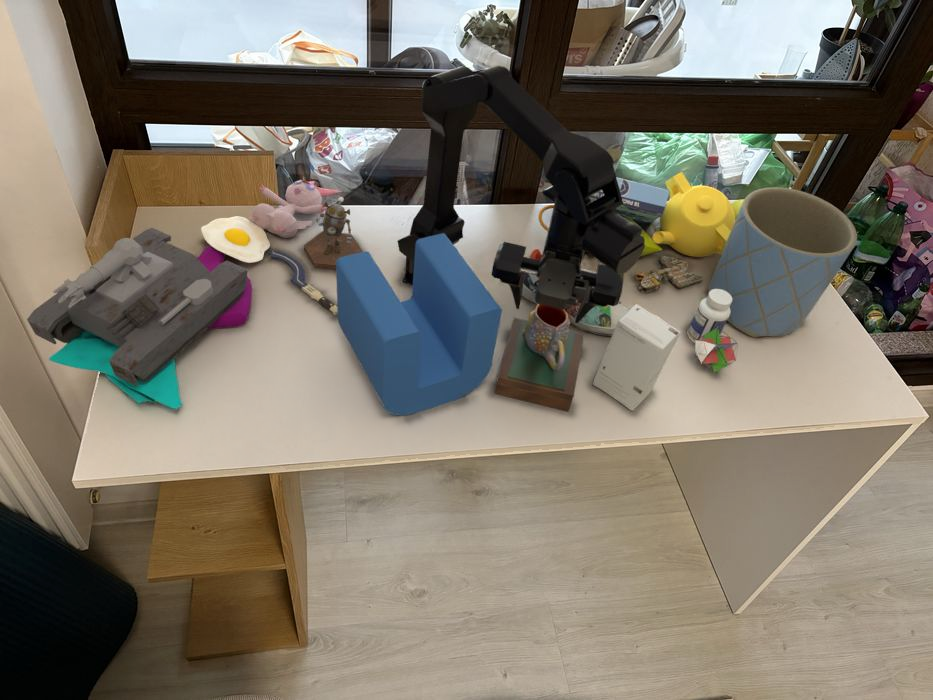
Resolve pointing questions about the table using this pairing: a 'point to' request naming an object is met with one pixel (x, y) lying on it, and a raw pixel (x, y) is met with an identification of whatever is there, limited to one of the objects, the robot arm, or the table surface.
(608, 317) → the sneaker
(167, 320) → the toy
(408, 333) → the block
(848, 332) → the table surface
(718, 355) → the geometric puzzle
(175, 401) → the cloth
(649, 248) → the plumb bob
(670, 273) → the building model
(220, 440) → the table surface
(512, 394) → the framed green board
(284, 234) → the toy
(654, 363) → the cosmetic box
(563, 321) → the mug
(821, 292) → the planter
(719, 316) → the pill bottle
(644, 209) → the gum box
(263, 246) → the fried egg
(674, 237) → the teapot
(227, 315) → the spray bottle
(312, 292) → the decorative blade
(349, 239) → the robot figurine
